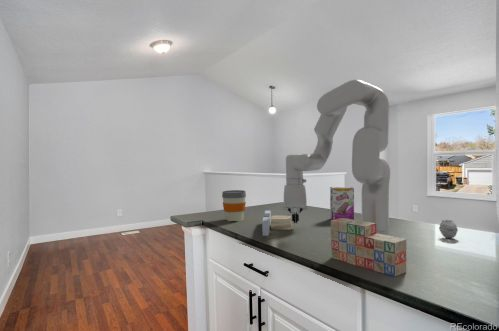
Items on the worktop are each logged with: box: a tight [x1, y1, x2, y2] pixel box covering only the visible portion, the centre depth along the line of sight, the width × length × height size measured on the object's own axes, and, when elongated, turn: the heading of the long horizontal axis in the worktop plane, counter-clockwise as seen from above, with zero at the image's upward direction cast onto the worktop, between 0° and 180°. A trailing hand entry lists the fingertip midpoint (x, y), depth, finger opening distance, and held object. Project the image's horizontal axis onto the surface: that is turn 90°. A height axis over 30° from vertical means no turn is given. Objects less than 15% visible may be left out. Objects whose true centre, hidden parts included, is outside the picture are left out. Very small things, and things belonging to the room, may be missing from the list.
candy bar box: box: [329, 186, 355, 221], centre depth 159 cm, size 11×5×16 cm, turn 84°
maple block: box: [270, 215, 293, 231], centre depth 145 cm, size 7×9×5 cm
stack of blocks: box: [330, 218, 407, 278], centre depth 94 cm, size 21×6×12 cm, turn 36°
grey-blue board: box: [261, 210, 272, 237], centre depth 143 cm, size 26×2×6 cm, turn 174°
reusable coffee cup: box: [221, 189, 247, 222], centre depth 165 cm, size 13×13×15 cm
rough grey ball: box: [438, 219, 458, 239], centre depth 120 cm, size 6×7×7 cm
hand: (295, 222), depth 142 cm, fingers closed
